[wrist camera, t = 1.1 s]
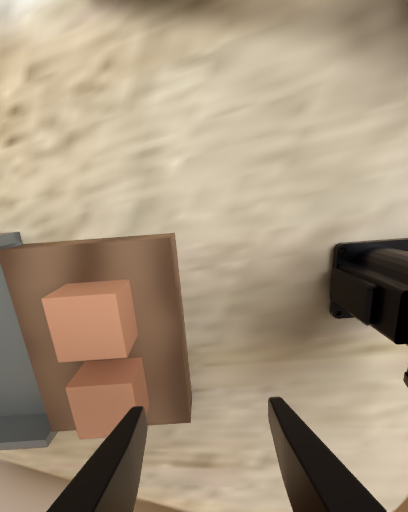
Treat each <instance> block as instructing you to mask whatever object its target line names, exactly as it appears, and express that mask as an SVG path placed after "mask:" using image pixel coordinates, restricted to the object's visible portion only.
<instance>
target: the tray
mask: <svg viewBox="0 0 408 512" xmlns="http://www.w3.org/2000/svg"><path fill="white" fill-rule="evenodd" d="M20 245H23V244H22V241H21V237H20V233H19V232H12V233H0V250H2V249H6V248H11V247H15V246H20ZM57 432H58V431H55V432H52V431H51V427H50V424H49V421H48V418H47V414H46V411H45V408H44V404H43V401H42V398H41V395H40V391H39V388H38V385H37V382H36V378H35V375H34V372H33V368H32V365H31V362H30V359H29V355H28V352H27V349H26V346H25V342H24V339H23V336H22V332H21V329H20V326H19V323H18V319H17V316H16V313H15V310H14V306H13V303H12V300H11V296H10V293H9V290H8V287H7V283H6V280H5V277H4V274H3V270H2V267H1V264H0V450H11V449H27V448H42V447H48V446H49V444H50V443H51V441H52V440H53V438H54V436H55V435H56V433H57Z"/></svg>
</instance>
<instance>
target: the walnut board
mask: <svg viewBox="0 0 408 512" xmlns="http://www.w3.org/2000/svg"><path fill="white" fill-rule="evenodd" d="M0 264H1V267H2V270H3V274H4V277H5V280H6V283H7V287H8V290H9V293H10V296H11V300H12V303H13V306H14V310H15V313H16V316H17V319H18V323H19V326H20V329H21V332H22V336H23V339H24V342H25V346H26V349H27V352H28V355H29V359H30V362H31V365H32V368H33V372H34V375H35V378H36V382H37V385H38V388H39V391H40V395H41V398H42V401H43V404H44V408H45V411H46V414H47V418H48V421H49V424H50V427H51V431H52V432H55V431H71V430H76V426H75V422H74V418H73V415H72V411H71V407H70V404H69V400H68V396H67V393H66V389H65V387H66V386H67V385H68V383H69V382H70V381H71V379H72V378H73V377H74V375H75V374H76V373H77V371H78V370H79V369H80V367H81V366H82V365H83V363H84V362H85V361H72V362H58V359H57V356H56V352H55V348H54V344H53V341H52V337H51V333H50V330H49V326H48V322H47V319H46V315H45V311H44V307H43V304H42V300H41V298H43V297H45V296H47V295H48V294H50V293H52V292H53V291H55V290H57V289H59V288H60V287H62V286H64V285H65V284H71V283H85V282H98V281H112V280H126V279H129V282H130V288H131V294H132V300H133V306H134V313H135V319H136V325H137V331H138V336H137V338H136V340H135V342H134V344H133V346H132V349H131V351H130V353H129V355H128V357H127V358H142V362H143V368H144V374H145V380H146V386H147V392H148V398H149V407H148V411H147V415H146V419H147V425H162V424H177V423H191V406H192V393H191V383H190V374H189V364H188V355H187V345H186V336H185V326H184V317H183V307H182V298H181V288H180V279H179V269H178V260H177V250H176V240H175V233H170V234H156V235H143V236H129V237H116V238H102V239H89V240H75V241H61V242H48V243H34V244H24V245H20V246H15V247H11V248H6V249H2V250H0ZM127 358H115V359H127ZM101 360H113V359H101ZM86 361H98V360H86Z"/></svg>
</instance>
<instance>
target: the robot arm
mask: <svg viewBox="0 0 408 512" xmlns="http://www.w3.org/2000/svg"><path fill="white" fill-rule="evenodd" d="M342 247H344V250H343V251H342V252H341V248H342ZM330 299H331V306H330V313H331V315H332V316H333V317H335V318H338V319H339V318H353V317H356V318H357V319H358V320H360V321H361V322H362V323H364V324H365V325H370V326H372V327H373V328H374V329H376V330H377V331H379V332H380V333H381V334H383V335H384V336H386V337H387V338H388V339H390V340H391V341H393V342H394V343H395V344H406V345H407V346H408V238H402V239H388V240H375V241H361V242H347V243H339V244H337V245H336V247H335V250H334V264H333V270H332V274H331V288H330ZM337 311H339V312H338V313H336V312H337ZM403 380H404V382H405V384H406V385H407V387H408V369H407V372H405V373H404V379H403ZM268 418H269V424H270V428H271V432H272V436H273V441H274V445H275V449H276V453H277V457H278V462H279V466H280V470H281V474H282V478H283V481H284V485H285V488H286V491H287V494H288V497H289V500H290V503H291V506H292V509H293V512H387V511H386V510H385V508H384V507H383V506H382V505H381V504H380V503H379V502H378V501H377V500H376V499H375V498H374V497H373V496H372V495H371V493H370V492H369V491H368V490H367V489H366V488H365V487H364V486H363V485H362V484H361V483H360V482H359V481H358V480H357V478H356V477H355V476H354V475H353V474H352V473H351V472H350V471H349V470H348V469H347V468H346V467H345V466H344V464H343V463H342V462H341V461H340V460H339V459H338V458H337V457H336V456H335V455H334V454H333V453H332V452H331V451H330V449H329V448H328V447H327V446H326V445H325V444H324V443H323V442H322V441H321V440H320V439H319V438H318V437H317V436H316V434H315V433H314V432H313V431H312V430H311V429H310V428H309V427H308V426H307V425H306V424H305V423H304V422H303V420H302V419H301V418H300V417H299V416H298V415H297V414H296V413H295V412H294V411H293V410H292V409H291V408H290V407H289V405H288V404H287V403H286V402H285V401H284V400H283V399H282V398H281V397H270V398H269V400H268ZM146 436H147V419H146V413H145V408H144V406H134V407H132V408H131V409H130V410H129V411H128V412H127V413H126V415H125V416H124V417H123V418H122V420H121V421H120V422H119V423H118V424H117V426H116V427H115V428H114V429H113V431H112V432H111V433H110V434H109V435H108V437H107V438H106V439H105V440H104V442H103V443H102V444H101V445H100V447H99V448H98V449H97V450H96V451H95V453H94V454H93V455H92V456H91V458H90V459H89V460H88V461H87V462H86V464H85V465H84V466H83V467H82V469H81V470H80V471H79V472H78V473H77V475H76V476H75V477H74V478H73V480H72V481H71V482H70V484H69V485H68V486H67V487H66V488H65V489H64V491H63V492H62V493H61V494H60V496H59V497H58V498H57V499H56V500H55V502H54V503H53V504H52V505H51V507H50V508H49V509H48V510H47V511H46V512H133V509H134V506H135V501H136V497H137V492H138V487H139V481H140V475H141V468H142V462H143V455H144V449H145V443H146Z"/></svg>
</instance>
